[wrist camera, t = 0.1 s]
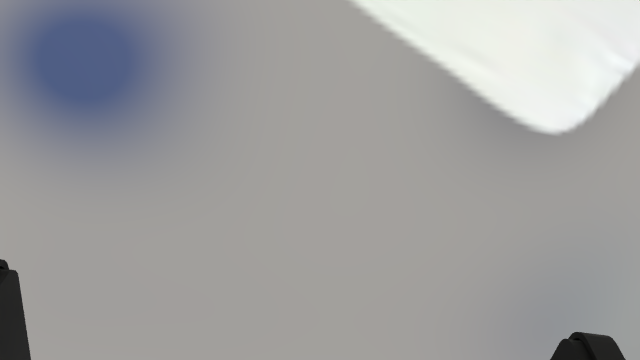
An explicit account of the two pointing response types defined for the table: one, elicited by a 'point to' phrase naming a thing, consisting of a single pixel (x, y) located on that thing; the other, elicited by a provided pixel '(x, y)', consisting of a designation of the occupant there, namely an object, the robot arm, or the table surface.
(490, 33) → the table surface
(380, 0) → the table surface
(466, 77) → the table surface
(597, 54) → the table surface
